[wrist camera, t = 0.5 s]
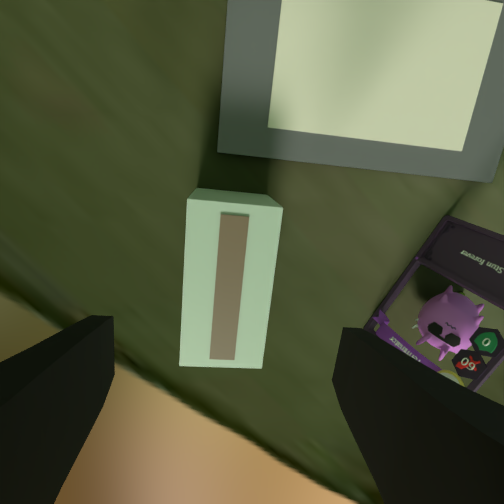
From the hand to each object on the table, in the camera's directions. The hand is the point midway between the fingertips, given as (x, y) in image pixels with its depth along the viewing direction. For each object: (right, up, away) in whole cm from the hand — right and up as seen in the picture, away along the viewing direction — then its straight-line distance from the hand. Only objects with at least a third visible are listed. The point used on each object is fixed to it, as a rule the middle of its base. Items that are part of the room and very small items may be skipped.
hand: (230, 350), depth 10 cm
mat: (+7, +13, +6) cm, 16 cm away
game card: (+12, +1, +11) cm, 17 cm away
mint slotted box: (-1, +3, +9) cm, 10 cm away
